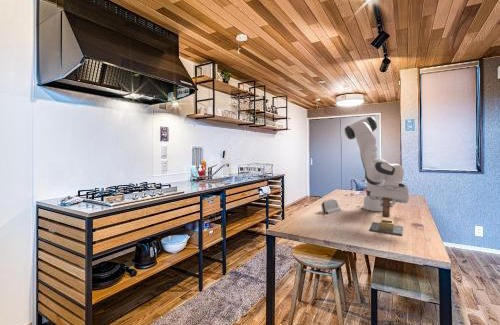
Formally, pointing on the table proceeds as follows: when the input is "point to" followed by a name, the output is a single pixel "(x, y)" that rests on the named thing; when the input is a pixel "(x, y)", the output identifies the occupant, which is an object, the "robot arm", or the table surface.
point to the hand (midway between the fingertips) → (385, 205)
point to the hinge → (330, 206)
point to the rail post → (386, 207)
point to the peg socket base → (386, 227)
